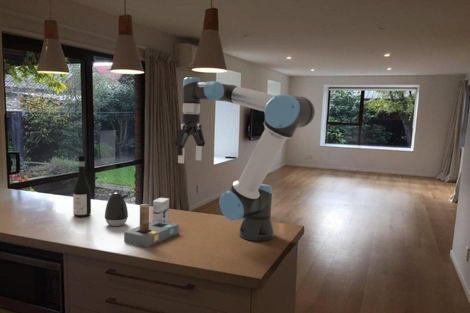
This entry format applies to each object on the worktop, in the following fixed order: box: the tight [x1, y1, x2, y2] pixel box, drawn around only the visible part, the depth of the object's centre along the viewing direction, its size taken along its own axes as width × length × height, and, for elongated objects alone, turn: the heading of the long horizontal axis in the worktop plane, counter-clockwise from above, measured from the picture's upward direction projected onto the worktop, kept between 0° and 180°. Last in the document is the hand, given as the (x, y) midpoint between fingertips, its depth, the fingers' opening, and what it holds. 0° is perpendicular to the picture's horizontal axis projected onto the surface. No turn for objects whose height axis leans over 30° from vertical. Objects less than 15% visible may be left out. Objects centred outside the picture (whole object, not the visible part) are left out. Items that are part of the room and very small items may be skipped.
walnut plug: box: [139, 203, 150, 234], centre depth 149 cm, size 4×4×14 cm
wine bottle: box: [72, 154, 92, 218], centre depth 182 cm, size 8×8×30 cm
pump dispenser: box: [104, 191, 129, 227], centre depth 170 cm, size 10×10×15 cm
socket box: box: [123, 220, 179, 248], centre depth 154 cm, size 12×20×4 cm, turn 153°
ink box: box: [152, 197, 170, 223], centre depth 173 cm, size 8×5×12 cm, turn 168°
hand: (190, 161), depth 165 cm, fingers open, 13 cm apart
